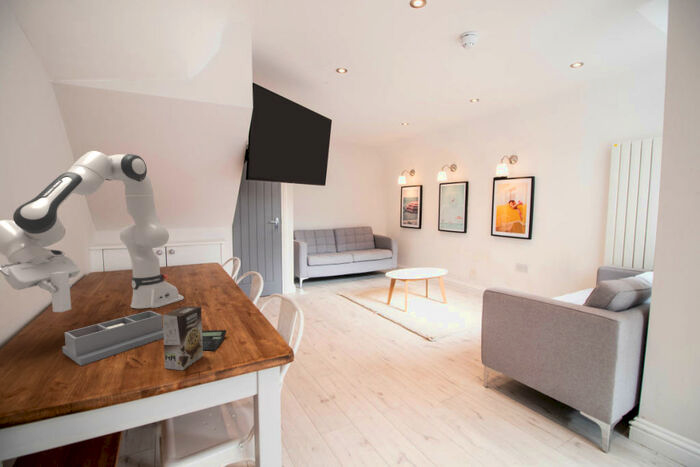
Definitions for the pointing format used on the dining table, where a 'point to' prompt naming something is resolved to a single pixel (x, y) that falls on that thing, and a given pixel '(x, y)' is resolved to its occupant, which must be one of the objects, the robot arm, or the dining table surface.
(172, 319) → the coffee box
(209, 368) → the dining table surface
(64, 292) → the light grey bar
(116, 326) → the key cream
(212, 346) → the calculator
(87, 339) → the keypad
